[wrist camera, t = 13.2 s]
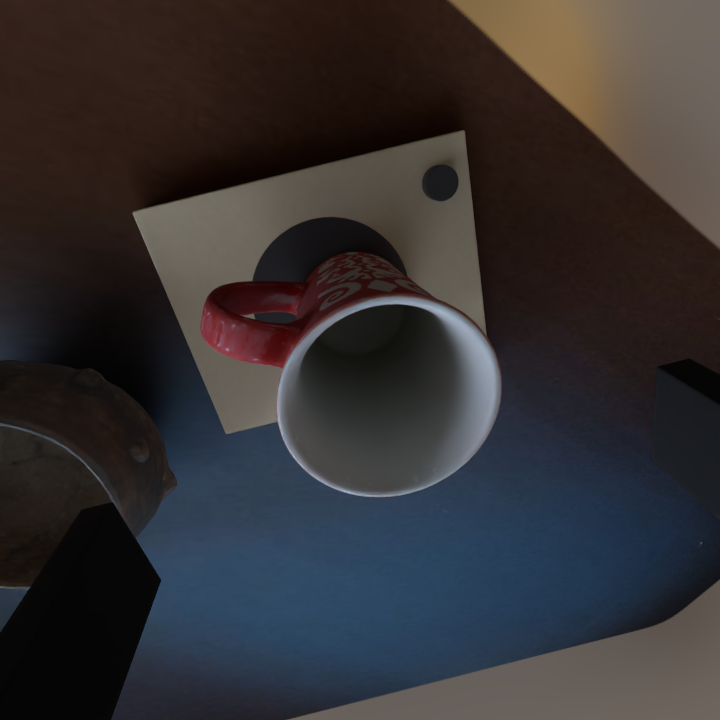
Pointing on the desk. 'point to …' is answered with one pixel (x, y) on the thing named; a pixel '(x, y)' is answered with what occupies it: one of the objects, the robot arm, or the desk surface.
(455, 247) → the stove
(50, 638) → the robot arm
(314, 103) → the desk surface
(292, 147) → the desk surface
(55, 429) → the bowl
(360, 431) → the mug
